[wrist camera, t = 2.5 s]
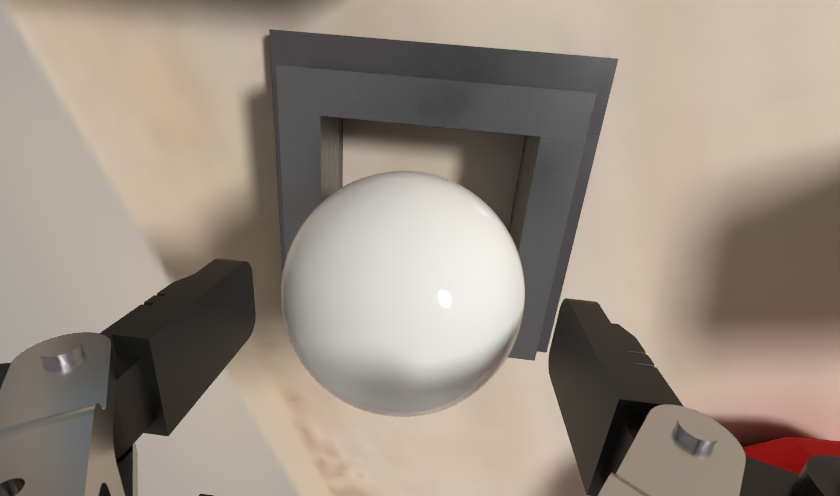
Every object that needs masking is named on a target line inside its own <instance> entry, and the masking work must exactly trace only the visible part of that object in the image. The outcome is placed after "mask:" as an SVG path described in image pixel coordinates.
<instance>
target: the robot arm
mask: <svg viewBox="0 0 840 496" xmlns="http://www.w3.org/2000/svg"><path fill="white" fill-rule="evenodd" d="M254 324H255V302H254V290H253V277H252V269H251V266H250V264H249V263H248V262H245V261H237V260H228V259H215V260H213V261H212V262H211V263H209V264H208V265H206V266H205V267H204V268H202V269H201V270H199V271H198V272H197V273H195V274H193V275H191V276H188V277H186V278H183V279H181V280H178V281H175V282H173V283H171V284H170V285H168V286H167V287H166V288H164V289H163V290H161V291H160V292H159V293H157V296H153V297H151V298H150V299H148V300H147V301H146V302H144V305H140V306H138V307H137V308H136V309H134V310H133V311H131V312H130V313H128V314H127V315H125V316H124V317H122V318H121V319H120V320H118V321H117V322H115V323H114V324H112V325H111V326H110V327H109V328H107V329H105V330H104V331H102V332H101V333H99V334H98V333H90V332H89V333H87V332H86V333H85V332H83V333H73V334H67V335H63V336H59V337H55V338H52V339H49V340H46V341H43V342H41V343H39V344H37V345H34V346H33V347H30V348H29V349H27V350H25V351H24V352H22V353H21V354H20V355H18V356H17V357H16V358H15V359H14V360H13V361H12V363H4V364H0V496H138V489H137V487H138V478H137V476H138V475H137V474H138V470H137V449H136V445H135V441H136V440H137V439H138V438H139V437H140V436H141V435H142V434H143V433H148V434H156V435H163V436H169V435H170V433H171V432H172V431H173V430H174V429H175V427H176V426H177V425H178V424H179V423H180V421H181V420H182V419H183V418H184V417H185V415H186V414H187V413H188V411H189V410H190V409H191V408H192V407H193V406H194V404H195V403H196V402H197V401H198V399H199V398H200V397H201V396H202V395H203V393H204V392H205V391H206V390H207V389H208V387H209V386H210V385H211V384H212V382H213V381H214V380H215V379H216V378H217V376H218V375H219V374H220V373H221V372H222V370H223V369H224V368H225V367H226V366H227V364H228V363H229V362H230V361H231V359H232V358H233V357H234V356H235V355H236V353H237V352H238V351H239V350H240V349H241V347H242V346H243V345H244V344H245V342H246V341H247V340H248V339H249V337H250V336H251V334H252V331H253V328H254ZM645 353H646V352H645V350H644V349H643V348H642V346H641V345H640V343H639V342H638V340H637V339H636V338H635V337H634V336H633V335H632V334H630V333H629V332H628V331H626V330H625V329H624V328H622V327H621V326H620V325H619V324H612V323H611V322H610V321H609V319H608V318H607V316H606V315H605V313H604V311H603V310H602V308H601V307H600V305H599V304H598V303H597V302H593V301H584V300H575V299H567V298H566V299H564V300H563V302H562V304H561V307H560V310H559V315H558V319H557V323H556V327H555V331H554V335H553V339H552V344H551V348H550V352H549V374H550V378H551V382H552V385H553V388H554V391H555V394H556V398H557V401H558V404H559V407H560V410H561V414H562V417H563V420H564V423H565V426H566V430H567V433H568V436H569V439H570V442H571V446H572V449H573V452H574V455H575V459H576V462H577V465H578V468H579V471H580V475H581V478H582V481H583V484H584V487H585V491H586V494H587V495H590V496H840V457H836V456H831V455H816V456H812V457H811V458H809V459H808V461H807V463H806V464H805V466H804V468H803V469H802V471H801V473H800V474H797V473H794V472H791V471H788V470H785V469H782V468H779V467H777V466H774V465H771V464H768V463H765V462H762V461H759V460H756V459H753V458H751V457H748V456H745V452H744V450H743V448H742V446H741V444H740V443H739V442H738V440H737V439H736V438H735V437H734V436H733V435H732V434H731V433H730V432H729V431H728V430H727V429H726V428H724V427H723V426H722V425H720V424H719V423H718V422H716V421H715V420H713V419H711V418H710V417H708V416H706V415H704V414H702V413H700V412H697V411H695V410H692V409H689V408H686V407H684V406H683V405H682V404H681V402H680V401H679V399H678V398H677V396H676V395H675V394H674V392H673V391H672V389H671V388H670V386H669V385H668V383H667V382H666V381H665V379H664V378H663V376H662V375H661V373H660V372H659V371H658V369H657V368H656V367H654V363H653V362H652V360H651V359H650V358H649V356H648V355H646V354H645ZM199 496H212V495H204V494H200V495H199Z"/></svg>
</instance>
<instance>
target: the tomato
mask: <svg viewBox="0 0 840 496" xmlns="http://www.w3.org/2000/svg"><path fill="white" fill-rule="evenodd" d="M742 448H743V450H744V452H745V456H748V457H751V458H753V459H756V460H759V461H762V462H765V463H768V464H771V465H774V466H777V467H779V468H782V469H785V470H788V471H791V472H794V473H797V474H800V473H801V471H802V469H803V468H804V466H805V464H806V463H807V461H808V459H809V458H811V457H812V456H816V455H831V456H836V457H840V441H830V440H820V439H810V438H800V437H784V438H779V439H775V440H771V441H767V442H762V443H758V444H754V445H750V446H746V447H742Z"/></svg>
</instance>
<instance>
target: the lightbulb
mask: <svg viewBox="0 0 840 496" xmlns="http://www.w3.org/2000/svg"><path fill="white" fill-rule="evenodd" d="M524 305H525V281H524V274H523V268H522V264H521V260H520V257H519V254H518V251H517V248H516V246H515V243H514V241H513V239H512V237H511V235H510V233H509V232H508V230H507V228H506V227H505V225H504V224H503V222H502V221H501V220H500V218H499V217H498V216H497V214H496V213H495V212H494V211H493V210H492V209H491V208H490V207H489V206H488V205H487V204H486V203H485V202H484V201H483V200H482V199H480V198H479V197H478V196H477V195H475V194H474V193H472V192H471V191H469V190H468V189H466V188H465V187H463V186H461V185H459V184H457V183H455V182H453V181H450V180H448V179H445V178H443V177H440V176H436V175H432V174H428V173H422V172H414V171H392V172H384V173H379V174H375V175H371V176H367V177H364V178H361V179H359V180H356V181H354V182H352V183H350V184H348V185H346V186H344V187H342V188H341V189H339V190H337V191H336V192H334V193H333V194H331V195H330V196H329V197H327V198H326V199H325V200H324V201H323V202H321V203H320V204H319V205H318V206H317V207H316V208H315V209H314V210H313V211H312V212H311V214H310V215H309V216H308V217H307V219H306V220H305V221H304V223H303V224H302V225H301V227H300V228H299V230H298V232H297V234H296V235H295V237H294V239H293V241H292V243H291V246H290V248H289V251H288V253H287V257H286V260H285V264H284V268H283V273H282V280H281V309H282V316H283V321H284V325H285V329H286V332H287V335H288V338H289V341H290V343H291V345H292V348H293V350H294V352H295V353H296V355H297V357H298V359H299V360H300V362H301V363H302V365H303V366H304V368H305V369H306V370H307V371H308V373H309V374H310V375H311V376H312V377H313V378H314V379H315V380H316V381H317V382H318V383H319V384H320V385H321V386H322V387H323V388H324V389H325V390H327V391H328V392H329V393H331V394H332V395H333V396H335V397H336V398H338V399H340V400H341V401H343V402H345V403H347V404H349V405H351V406H353V407H355V408H358V409H361V410H363V411H367V412H370V413H374V414H378V415H384V416H392V417H412V416H421V415H427V414H431V413H435V412H438V411H441V410H444V409H447V408H449V407H452V406H454V405H456V404H458V403H460V402H462V401H463V400H465V399H467V398H468V397H470V396H471V395H473V394H474V393H476V392H477V391H478V390H480V389H481V388H482V387H483V386H484V385H485V384H486V383H487V382H488V381H489V380H490V379H491V378H492V377H493V376H494V375H495V374H496V373H497V372H498V370H499V369H500V368H501V366H502V365H503V364H504V362H505V360H506V359H507V357H508V355H509V354H510V352H511V350H512V348H513V346H514V344H515V341H516V339H517V336H518V333H519V330H520V327H521V323H522V318H523V313H524Z"/></svg>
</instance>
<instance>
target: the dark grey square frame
mask: <svg viewBox="0 0 840 496" xmlns="http://www.w3.org/2000/svg"><path fill="white" fill-rule="evenodd" d="M269 32H270V51H271V69H272V87H273V106H274V124H275V143H276V161H277V179H278V198H279V216H280V235H281V253H282V271H283V268H284V264H285V260H286V257H287V253H288V251H289V248H290V246H291V243H292V241H293V239H294V237H295V235H296V234H297V232H298V230H299V228H300V227H301V225H302V224H303V223H304V221H305V220H306V219H307V217H308V216H309V215H310V214H311V212H312V211H313V210H314V209H315V208H316V207H317V206H318V205H319V204H320V203H321V202H323V201H324V200H325V199H326V198H327V197H329V196H330V195H331V194H333V193H334V192H336V191H337V190H339V189H341V188H342V162H343V118H349V119H360V120H370V121H381V122H392V123H402V124H413V125H423V126H434V127H444V128H455V129H466V130H476V131H487V132H497V133H508V134H518V135H526V137H525V143H524V148H523V154H522V160H521V165H520V171H519V177H518V182H517V188H516V194H515V199H514V205H513V211H512V216H511V222H510V228H509V233H510V235H511V237H512V239H513V241H514V243H515V246H516V248H517V251H518V254H519V257H520V260H521V264H522V268H523V274H524V281H525V305H524V313H523V318H522V323H521V327H520V330H519V333H518V336H517V339H516V341H515V344H514V346H513V348H512V350H511V352H510V354H509V355H508V357H510V358H518V359H526V360H535V356H536V352H537V351H539V352H547V348H548V344H549V340H550V336H551V332H552V328H553V324H554V319H555V315H556V311H557V307H558V303H559V299H560V295H561V291H562V287H563V283H564V279H565V274H566V270H567V266H568V262H569V258H570V254H571V250H572V246H573V242H574V238H575V234H576V229H577V225H578V221H579V217H580V213H581V209H582V205H583V201H584V197H585V193H586V188H587V184H588V180H589V176H590V172H591V168H592V164H593V160H594V156H595V152H596V148H597V143H598V139H599V135H600V131H601V127H602V123H603V119H604V115H605V111H606V107H607V103H608V98H609V94H610V90H611V86H612V82H613V78H614V74H615V70H616V66H617V62H618V59H614V58H602V57H590V56H578V55H566V54H554V53H543V52H531V51H519V50H507V49H495V48H483V47H471V46H460V45H448V44H436V43H424V42H412V41H400V40H388V39H377V38H365V37H353V36H341V35H329V34H317V33H305V32H293V31H282V30H270V29H269Z"/></svg>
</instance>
